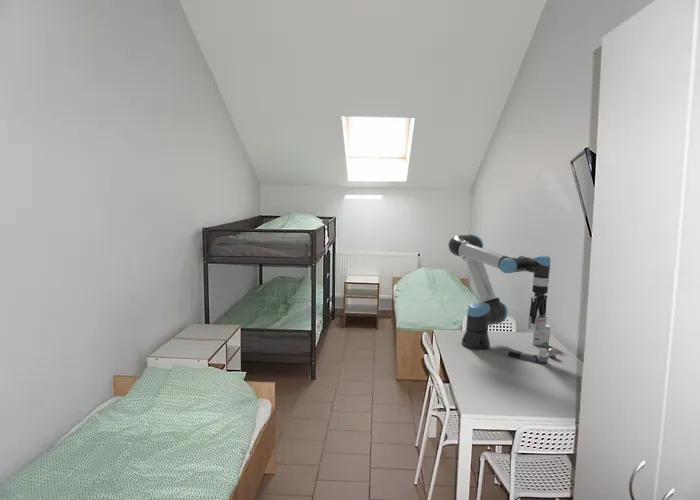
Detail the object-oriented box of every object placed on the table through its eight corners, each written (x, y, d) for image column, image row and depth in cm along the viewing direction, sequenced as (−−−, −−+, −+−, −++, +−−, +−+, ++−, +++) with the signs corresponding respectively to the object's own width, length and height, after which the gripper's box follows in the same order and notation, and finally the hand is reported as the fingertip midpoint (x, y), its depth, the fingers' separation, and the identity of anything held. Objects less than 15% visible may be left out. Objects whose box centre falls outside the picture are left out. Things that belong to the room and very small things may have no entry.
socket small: (546, 357, 274) (547, 349, 273) (548, 355, 277) (549, 347, 277) (555, 359, 272) (556, 350, 271) (556, 357, 275) (557, 348, 275)
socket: (527, 328, 272) (529, 315, 272) (533, 326, 277) (534, 313, 276) (539, 331, 268) (540, 318, 267) (545, 329, 272) (546, 316, 271)
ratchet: (507, 356, 271) (509, 343, 270) (510, 353, 276) (511, 341, 275) (546, 365, 262) (547, 351, 261) (548, 361, 267) (549, 348, 266)
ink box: (548, 344, 296) (550, 324, 295) (548, 347, 292) (550, 327, 290) (532, 342, 299) (534, 322, 297) (532, 344, 294) (534, 324, 293)
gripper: (538, 288, 260) (534, 333, 263) (555, 284, 274) (551, 326, 277) (524, 285, 265) (520, 329, 268) (542, 282, 279) (538, 323, 282)
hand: (536, 328), depth 272 cm, fingers closed on socket, 6 cm apart
